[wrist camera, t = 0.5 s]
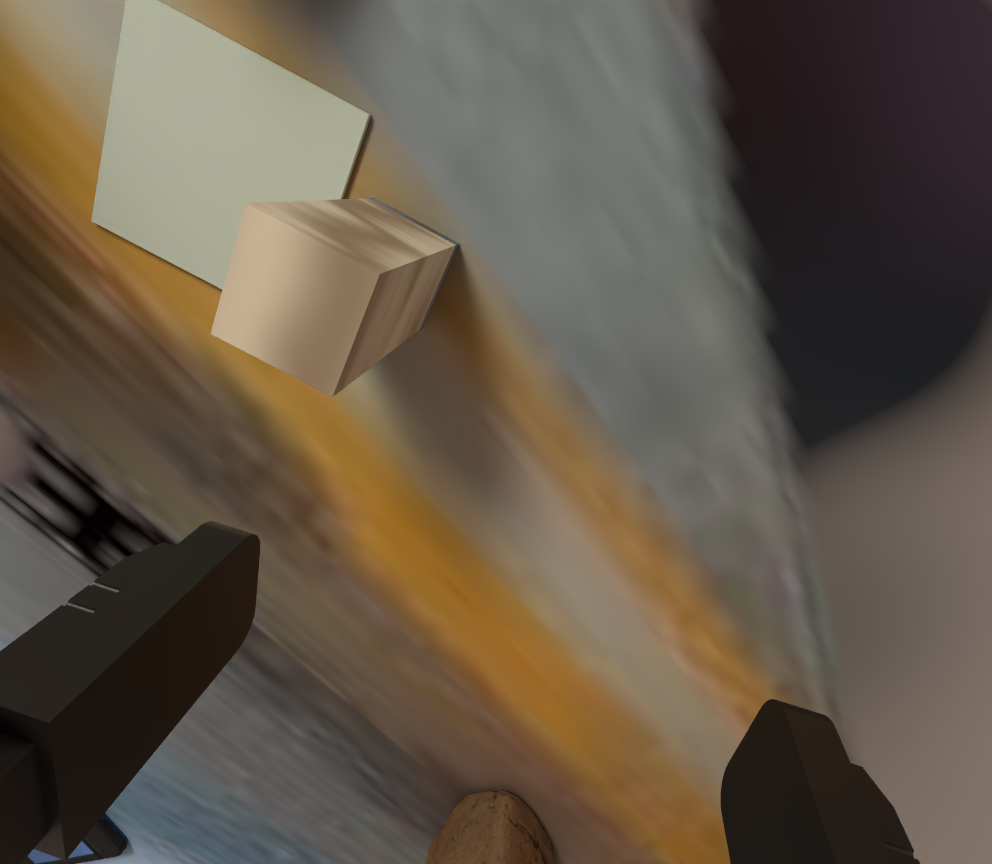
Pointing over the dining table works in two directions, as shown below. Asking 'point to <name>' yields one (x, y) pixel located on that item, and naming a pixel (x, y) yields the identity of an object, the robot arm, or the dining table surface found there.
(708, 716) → the dining table surface
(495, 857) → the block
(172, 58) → the board
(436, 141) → the dining table surface
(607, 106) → the dining table surface
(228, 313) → the birch block
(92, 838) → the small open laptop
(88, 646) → the robot arm
